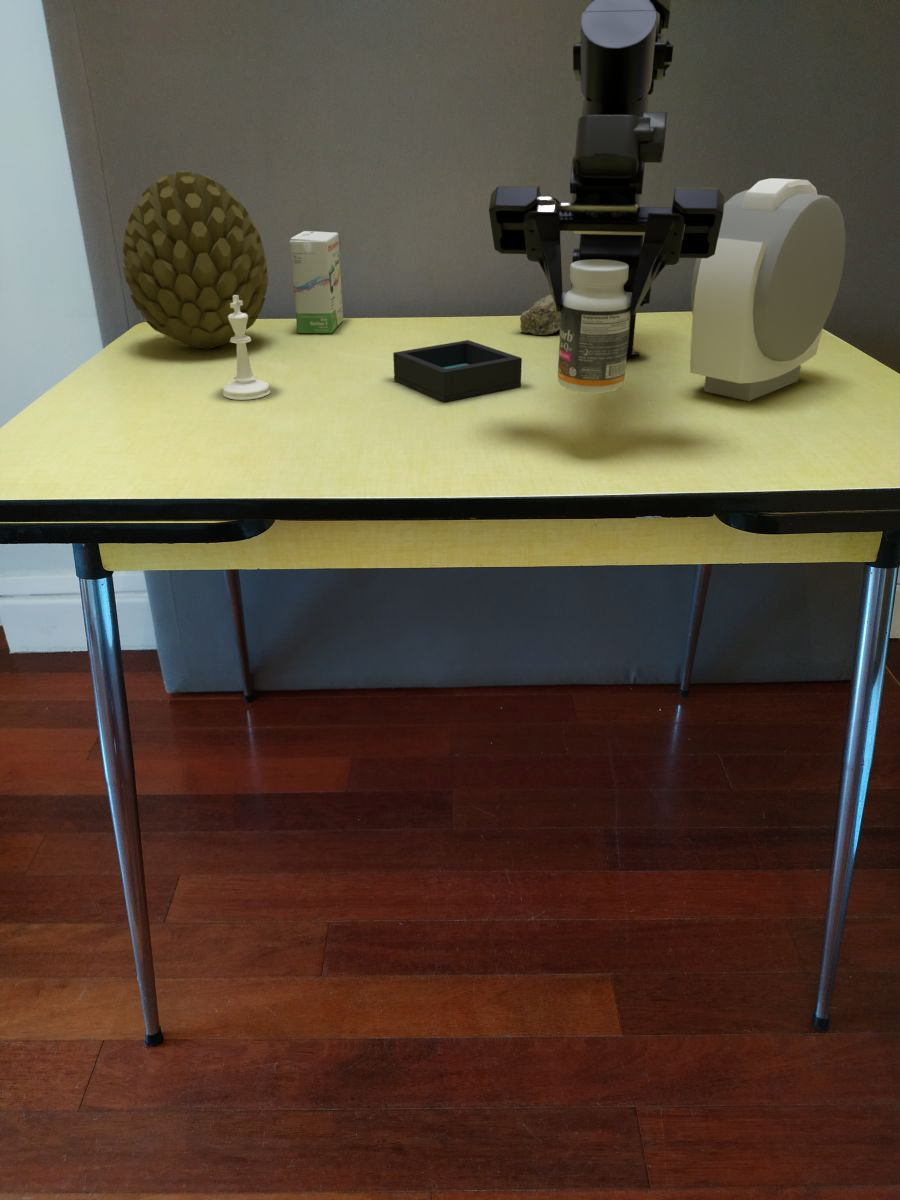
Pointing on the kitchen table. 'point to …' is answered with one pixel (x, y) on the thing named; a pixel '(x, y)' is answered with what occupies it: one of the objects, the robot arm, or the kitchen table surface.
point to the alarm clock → (766, 288)
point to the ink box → (316, 281)
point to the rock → (541, 317)
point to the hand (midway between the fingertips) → (594, 310)
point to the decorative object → (193, 259)
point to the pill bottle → (594, 327)
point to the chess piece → (243, 360)
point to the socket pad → (457, 370)
